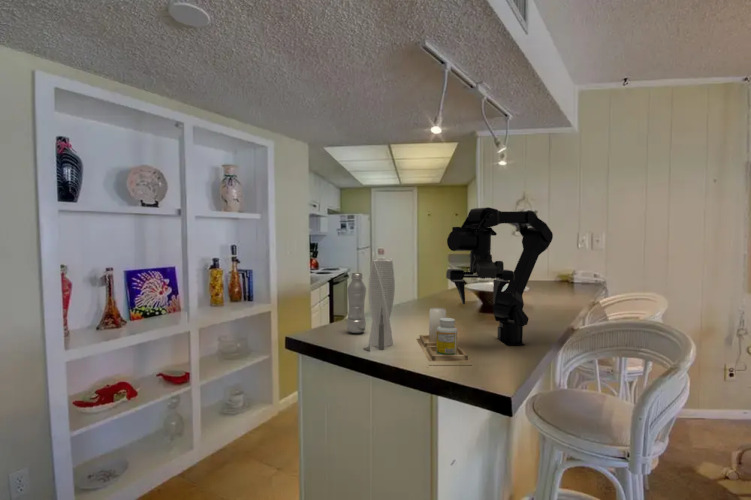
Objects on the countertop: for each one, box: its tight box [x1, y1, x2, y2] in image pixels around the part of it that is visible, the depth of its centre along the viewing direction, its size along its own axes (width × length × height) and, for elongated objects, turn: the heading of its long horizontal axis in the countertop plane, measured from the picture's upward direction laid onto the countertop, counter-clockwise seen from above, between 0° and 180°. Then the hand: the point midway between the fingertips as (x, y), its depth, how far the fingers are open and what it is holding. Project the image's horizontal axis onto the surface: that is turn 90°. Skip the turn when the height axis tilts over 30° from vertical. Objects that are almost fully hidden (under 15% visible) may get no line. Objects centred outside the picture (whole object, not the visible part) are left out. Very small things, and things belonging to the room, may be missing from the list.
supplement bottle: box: [436, 317, 458, 355], centre depth 105 cm, size 5×5×10 cm
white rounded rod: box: [428, 307, 447, 342], centre depth 117 cm, size 5×5×10 cm
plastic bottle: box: [346, 272, 367, 334], centre depth 133 cm, size 6×7×20 cm
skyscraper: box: [362, 251, 396, 352], centre depth 114 cm, size 8×8×28 cm
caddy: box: [416, 334, 473, 367], centre depth 111 cm, size 11×22×2 cm, turn 3°
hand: (479, 304), depth 116 cm, fingers open, 9 cm apart
